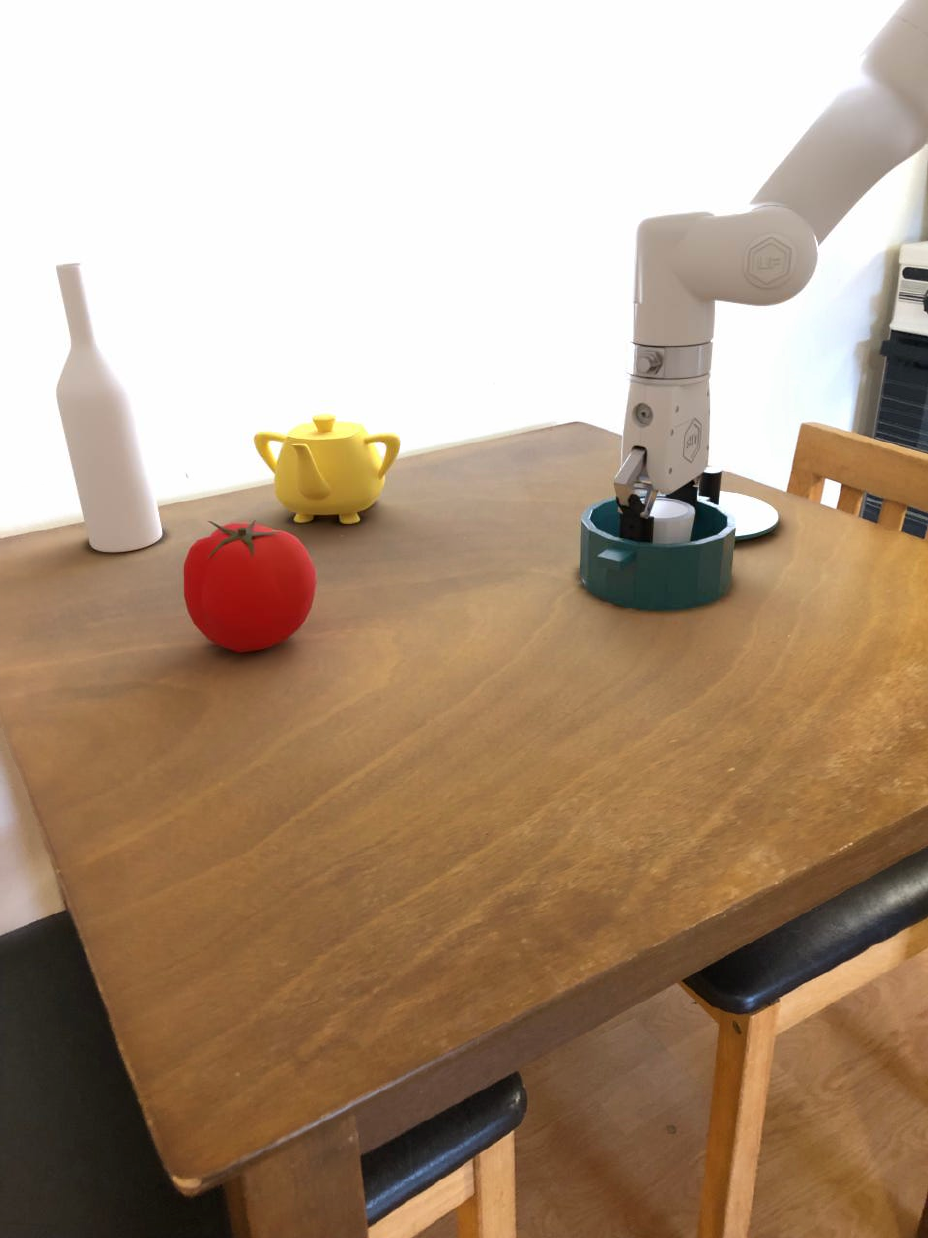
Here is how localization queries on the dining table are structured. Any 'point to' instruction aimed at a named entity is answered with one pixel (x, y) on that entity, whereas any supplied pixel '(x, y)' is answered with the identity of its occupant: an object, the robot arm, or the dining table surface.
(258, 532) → the tomato
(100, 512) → the bottle
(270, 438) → the teapot
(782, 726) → the dining table surface
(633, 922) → the dining table surface
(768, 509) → the lid
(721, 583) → the pot
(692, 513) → the white cup
